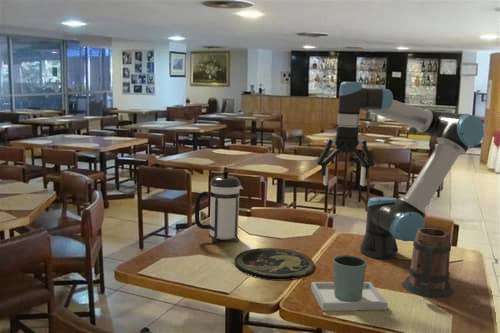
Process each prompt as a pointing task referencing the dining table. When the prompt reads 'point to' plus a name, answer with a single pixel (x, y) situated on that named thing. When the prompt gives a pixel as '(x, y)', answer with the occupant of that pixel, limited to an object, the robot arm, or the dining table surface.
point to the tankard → (430, 264)
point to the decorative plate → (274, 263)
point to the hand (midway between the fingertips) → (343, 185)
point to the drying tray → (331, 303)
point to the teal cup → (349, 277)
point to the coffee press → (222, 207)
